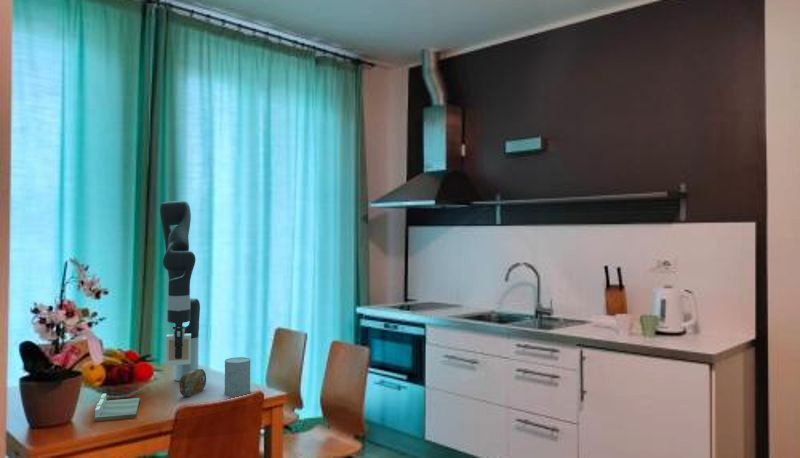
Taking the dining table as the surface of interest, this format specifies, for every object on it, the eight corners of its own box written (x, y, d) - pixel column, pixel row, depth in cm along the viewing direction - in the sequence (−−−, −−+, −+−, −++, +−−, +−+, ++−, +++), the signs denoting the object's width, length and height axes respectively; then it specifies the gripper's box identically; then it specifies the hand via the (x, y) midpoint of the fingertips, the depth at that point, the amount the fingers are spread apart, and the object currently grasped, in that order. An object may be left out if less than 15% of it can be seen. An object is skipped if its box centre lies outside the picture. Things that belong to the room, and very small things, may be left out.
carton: (166, 363, 207) (166, 334, 207) (190, 361, 210) (190, 333, 210) (166, 365, 203) (166, 336, 203) (190, 364, 206) (191, 335, 206)
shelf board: (102, 404, 208) (102, 400, 208) (139, 401, 212) (139, 397, 212) (94, 421, 189) (94, 417, 189) (135, 417, 194) (135, 413, 194)
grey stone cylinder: (255, 392, 225) (255, 360, 225) (232, 397, 218) (232, 363, 218) (242, 387, 232) (242, 356, 232) (219, 392, 225) (219, 359, 225)
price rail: (102, 400, 208) (102, 393, 208) (106, 400, 209) (106, 392, 209) (94, 417, 189) (94, 409, 189) (99, 417, 190) (99, 408, 190)
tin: (185, 399, 216) (185, 376, 216) (177, 398, 216) (177, 375, 216) (206, 388, 230) (207, 366, 230) (199, 388, 231) (199, 366, 231)
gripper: (168, 306, 212) (167, 353, 212) (166, 311, 199) (166, 362, 199) (190, 305, 215) (189, 352, 215) (190, 310, 201) (190, 360, 201)
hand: (178, 356), depth 207 cm, fingers closed on carton, 4 cm apart
